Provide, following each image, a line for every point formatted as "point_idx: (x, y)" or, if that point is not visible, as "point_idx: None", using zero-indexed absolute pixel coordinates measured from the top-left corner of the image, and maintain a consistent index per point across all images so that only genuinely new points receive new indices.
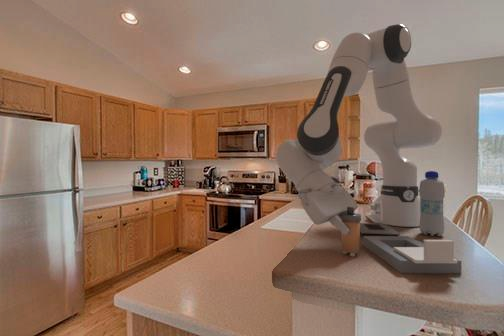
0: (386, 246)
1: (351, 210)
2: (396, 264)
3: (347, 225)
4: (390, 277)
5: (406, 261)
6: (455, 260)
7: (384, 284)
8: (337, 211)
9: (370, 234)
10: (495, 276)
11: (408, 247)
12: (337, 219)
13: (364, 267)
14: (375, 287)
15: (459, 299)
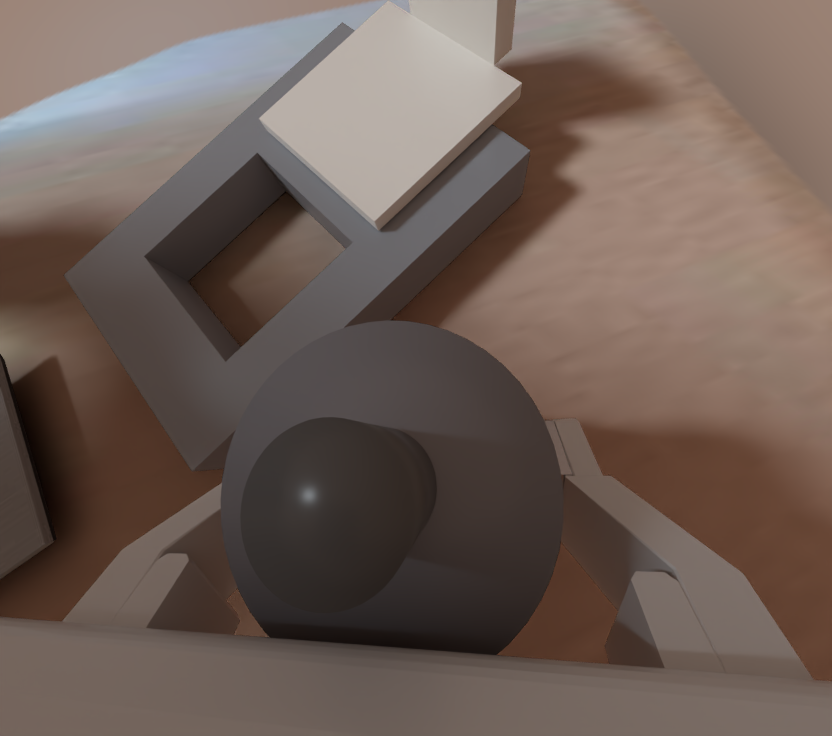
0: (336, 279)
1: (403, 450)
2: (499, 201)
3: None
4: (604, 205)
5: (508, 139)
6: (393, 5)
7: (703, 193)
8: (754, 721)
9: (42, 491)
10: (315, 19)
11: (328, 172)
12: (746, 580)
13: (582, 323)
14: (770, 203)
15: (604, 21)
